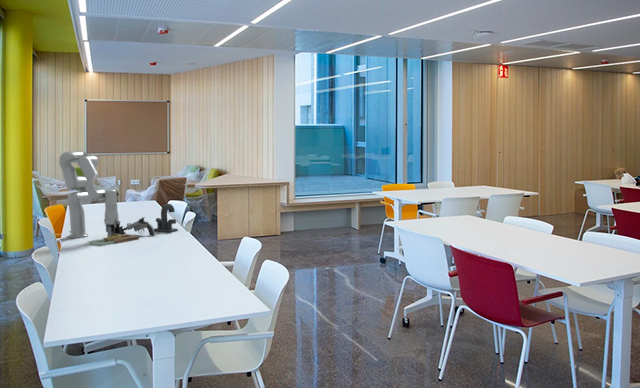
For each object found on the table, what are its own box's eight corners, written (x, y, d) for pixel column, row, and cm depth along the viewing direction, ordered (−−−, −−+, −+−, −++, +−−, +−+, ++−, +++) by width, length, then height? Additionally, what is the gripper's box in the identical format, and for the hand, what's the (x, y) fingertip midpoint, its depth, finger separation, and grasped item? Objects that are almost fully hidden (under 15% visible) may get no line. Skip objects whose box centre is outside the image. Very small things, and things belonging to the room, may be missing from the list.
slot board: (103, 241, 373) (103, 238, 373) (126, 237, 387) (126, 234, 387) (115, 244, 365) (115, 240, 364) (139, 239, 379) (139, 236, 379)
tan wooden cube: (107, 242, 370) (107, 236, 369) (113, 241, 373) (112, 235, 373) (111, 242, 368) (111, 236, 367) (116, 241, 371) (116, 235, 370)
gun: (153, 235, 391) (145, 215, 391) (122, 248, 398) (114, 229, 397) (157, 233, 397) (148, 214, 396) (126, 247, 403) (118, 227, 402)
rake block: (107, 239, 382) (106, 223, 381) (114, 238, 387) (113, 222, 385) (111, 239, 380) (110, 223, 379) (118, 238, 384) (117, 222, 383)
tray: (90, 244, 363) (89, 241, 363) (104, 242, 372) (104, 239, 372) (100, 246, 357) (99, 243, 357) (114, 243, 366) (114, 240, 365)
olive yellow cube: (113, 240, 373) (113, 235, 373) (118, 240, 377) (118, 234, 376) (117, 241, 371) (116, 235, 371) (122, 240, 374) (122, 234, 374)
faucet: (184, 229, 419) (183, 202, 417) (171, 232, 404) (170, 205, 402) (164, 228, 426) (163, 202, 423) (151, 231, 411) (149, 204, 409)
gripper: (99, 207, 383) (100, 232, 385) (114, 209, 373) (115, 234, 375) (108, 206, 389) (110, 230, 391) (123, 207, 379) (125, 232, 381)
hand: (112, 232), depth 383 cm, fingers open, 9 cm apart
